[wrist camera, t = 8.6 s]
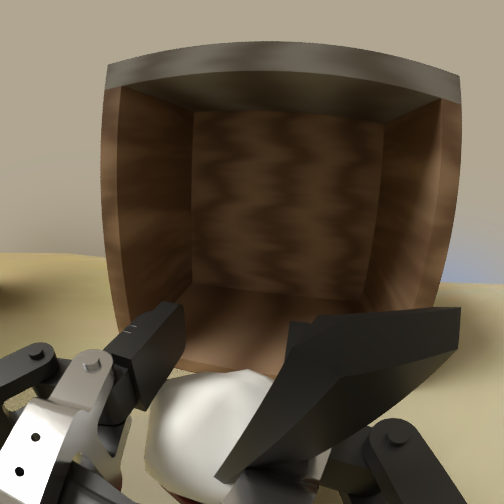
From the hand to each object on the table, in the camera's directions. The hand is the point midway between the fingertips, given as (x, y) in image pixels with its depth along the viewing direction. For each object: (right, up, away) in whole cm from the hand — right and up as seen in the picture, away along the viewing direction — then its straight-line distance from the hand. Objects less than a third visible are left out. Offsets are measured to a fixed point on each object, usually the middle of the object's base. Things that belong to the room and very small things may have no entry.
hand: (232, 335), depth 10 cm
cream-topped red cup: (-1, -8, 0) cm, 8 cm away
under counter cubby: (+2, -5, +17) cm, 18 cm away
